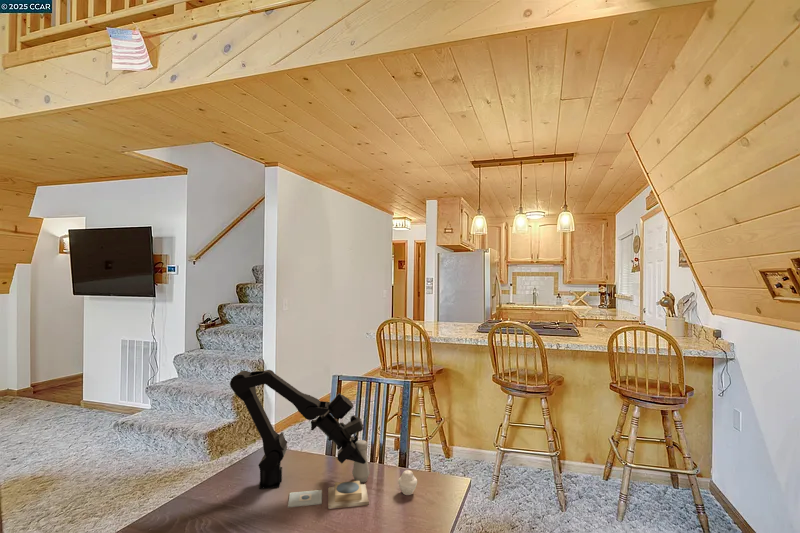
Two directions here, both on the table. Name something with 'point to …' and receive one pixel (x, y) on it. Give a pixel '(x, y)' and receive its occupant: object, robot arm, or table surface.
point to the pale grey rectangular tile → (305, 498)
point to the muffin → (407, 482)
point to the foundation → (347, 495)
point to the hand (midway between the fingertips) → (365, 460)
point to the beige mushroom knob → (361, 469)
